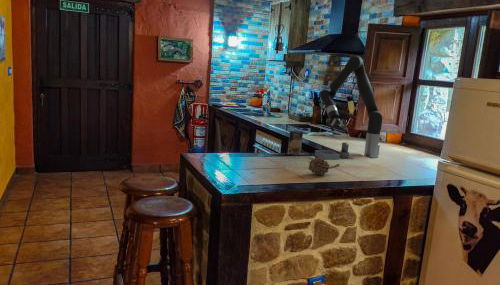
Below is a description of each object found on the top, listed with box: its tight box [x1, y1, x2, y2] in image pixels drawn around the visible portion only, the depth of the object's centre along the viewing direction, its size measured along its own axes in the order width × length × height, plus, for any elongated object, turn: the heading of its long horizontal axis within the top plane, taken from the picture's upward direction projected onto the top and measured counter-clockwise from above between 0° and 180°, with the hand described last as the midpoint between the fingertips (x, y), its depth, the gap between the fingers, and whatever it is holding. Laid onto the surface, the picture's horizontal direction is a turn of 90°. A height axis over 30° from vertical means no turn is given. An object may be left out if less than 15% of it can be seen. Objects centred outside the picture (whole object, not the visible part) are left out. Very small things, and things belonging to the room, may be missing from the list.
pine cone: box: [308, 157, 340, 176], centre depth 238 cm, size 22×10×10 cm, turn 124°
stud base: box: [339, 156, 354, 160], centre depth 285 cm, size 11×11×5 cm
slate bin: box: [314, 149, 340, 162], centre depth 281 cm, size 12×13×5 cm
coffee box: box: [287, 130, 304, 156], centre depth 290 cm, size 9×6×16 cm
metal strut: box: [339, 142, 350, 158], centre depth 284 cm, size 4×4×10 cm
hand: (338, 131), depth 292 cm, fingers open, 8 cm apart
